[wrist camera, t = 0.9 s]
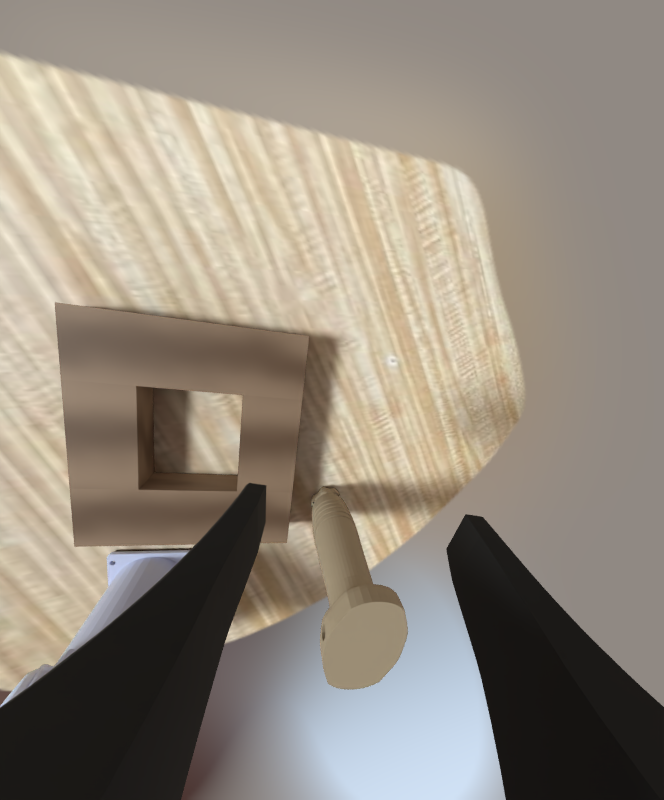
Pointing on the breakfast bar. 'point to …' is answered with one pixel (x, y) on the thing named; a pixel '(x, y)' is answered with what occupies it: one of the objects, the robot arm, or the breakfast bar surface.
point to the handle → (353, 602)
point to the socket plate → (134, 428)
